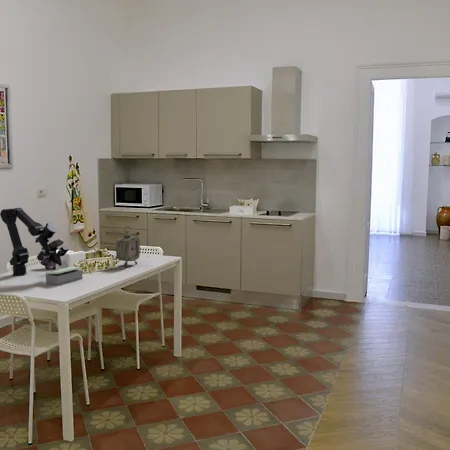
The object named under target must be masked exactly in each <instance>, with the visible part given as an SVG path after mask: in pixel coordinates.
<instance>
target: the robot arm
mask: <svg viewBox="0 0 450 450" xmlns="http://www.w3.org/2000/svg"><path fill="white" fill-rule="evenodd" d="M0 219H1V221H2V222H3V223H4V224H5V225H6V227H7V230H8V231H7V232H8V234H9V237H10V240H11V244H12V245H11V246H12V248H13V249H12V254H11V255H12V257H11V258H10V260H9V265H10V266H12V274H11V275H12V276H25V275H26V274H27V266H26V264H28V262H29V258H30V256H29V255H30V253H29V251H28V248H27V247H24V246H23V244H22V243H23V242H22V240H21V237H20V233H19V230H18V226H17V219H18V220H20V221H21V222H22V223H23V225H24V226H26V227H27V230H28V232H29V234H30V235H31V236H32V237H35V241H34V242H35V243H39V244H40V246H41V251H40V252H39V253H38V254H37V255H36V259H37V261H39V262H41V260H43V257H46V256H48V259H47V260H49V261H52V262H54V263H56V264H58V265H59V266H61V265H62V262H61V257H60V256H64V255H65V254H66V253H67V251H70V249H69V247H68V246H63V244H64V240H63V238H57V239H56V240H51V238H53V237H54V235H55V234H56V232H57V231H58V228H57V226H55V224H51V223H50V222H47V223H46V224H45V225H43V224H42V223H40V222H37V221H35V220H33V218H31V216H30V215H28V214H27V213H26V212H25V210H24V209H23V208H22V207H15V208H4V209H2V210H1V211H0ZM60 246H61V247H60ZM59 247H60V248H59Z"/></svg>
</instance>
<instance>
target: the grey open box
mask: <svg viewBox="0 0 450 450" xmlns="http://www.w3.org/2000/svg"><path fill="white" fill-rule="evenodd" d="M79 280H83V270H72V271H67V272H63V273H59V274H46V273H45V284H46V285H52V286H57V287H58V286H62V285H65V284H69V283H73V282H76V281H79Z"/></svg>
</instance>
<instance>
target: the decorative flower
mask: <svg viewBox="0 0 450 450" xmlns="http://www.w3.org/2000/svg"><path fill="white" fill-rule="evenodd" d="M47 259H48V256H46V257H43V260H41V261H39V263H40V265H42V266H44V267H45V269H46V270H50V269H51V268H52V270H56V263H54V262H52V261H49V260H47Z"/></svg>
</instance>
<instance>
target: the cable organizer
mask: <svg viewBox="0 0 450 450" xmlns="http://www.w3.org/2000/svg"><path fill="white" fill-rule="evenodd" d="M60 257H61V262H62V265H61V266H59V265H58V264H56V269H55V270H59V269H63V268H67V267H74V266H73V265H74V263H76V262H78V261H81V260H84V259H85V260H86V253H85V251H83V250H79V251H75V252H74V250H68V251H67V253H66V254H65V255H64V256H60Z"/></svg>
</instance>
